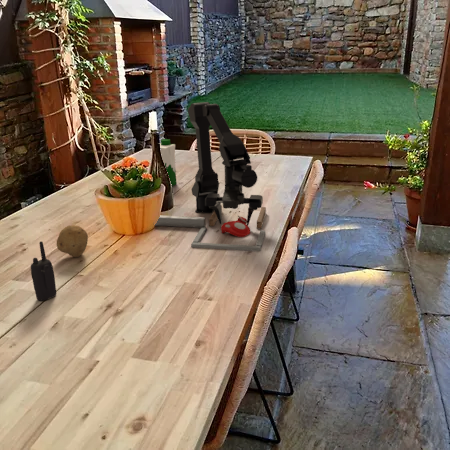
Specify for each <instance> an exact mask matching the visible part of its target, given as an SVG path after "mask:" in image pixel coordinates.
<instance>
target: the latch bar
mask: <svg viewBox="0 0 450 450" xmlns="http://www.w3.org/2000/svg"><path fill="white" fill-rule="evenodd" d="M159 215H160V214H159ZM206 225H207V223H206V217H200V216H181V215H180V216H178V215H160V217H159V219H158V221H157V223H156V224H155V225H154V226H159V227H160V226H163V227H179V228H180V227H183V228H200V229H201V228H202V227H204V228H206Z"/></svg>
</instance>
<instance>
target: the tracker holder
mask: <svg viewBox="0 0 450 450" xmlns="http://www.w3.org/2000/svg"><path fill="white" fill-rule="evenodd" d="M220 231H221V233H222V234H225V233H229V234H231V235H233V236H235V237H238V238H245V237H247V236H249V235H250V234H251V228H250V227H249V225H248V226H247V217H243V216H240V215H237V220H231V221H226V222H224V223H222V224H221V226H220Z"/></svg>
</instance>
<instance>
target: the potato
mask: <svg viewBox="0 0 450 450" xmlns="http://www.w3.org/2000/svg"><path fill="white" fill-rule="evenodd" d="M88 241H89V235H88V233H87V231H86V230H85V229H84V228H83V227H81V226H80V225H72V224H71V225H67V226H65V227H64V228H63V229H61V230H60V231H59V235H58V236H57V239H56V248H57V249H58V251H59V252H61V253H65V254H67V255H69V256H70V257H73V258H79V257H80V256H82V255H83V254H84V253H85V250H86V249H87V246H88Z"/></svg>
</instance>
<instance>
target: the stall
mask: <svg viewBox="0 0 450 450" xmlns="http://www.w3.org/2000/svg"><path fill="white" fill-rule="evenodd" d="M222 208H223V204H221V213H223V210H222ZM266 209H267V207H266V206H261V209H260V211H259V214H258V217H257V220H256V229H260V230H262V228H263V227H262V226H263V223H264V220H265V217H266V214H267V210H266ZM217 221H218V218H217V215H216V213H215V211H213V212H212V213H211V216H210V217H209V218H208V222H209V224H208V225H209V227H215V225H216V223H217Z"/></svg>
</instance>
